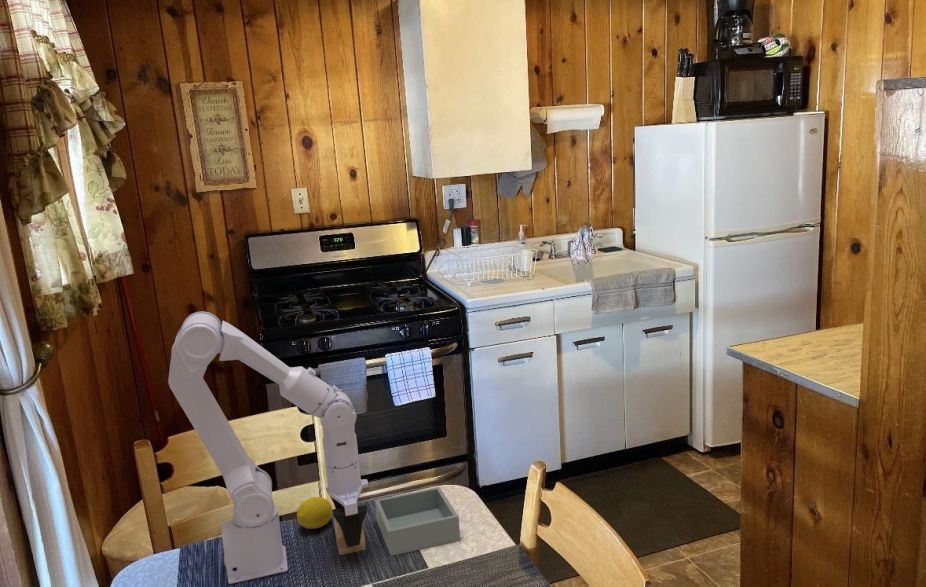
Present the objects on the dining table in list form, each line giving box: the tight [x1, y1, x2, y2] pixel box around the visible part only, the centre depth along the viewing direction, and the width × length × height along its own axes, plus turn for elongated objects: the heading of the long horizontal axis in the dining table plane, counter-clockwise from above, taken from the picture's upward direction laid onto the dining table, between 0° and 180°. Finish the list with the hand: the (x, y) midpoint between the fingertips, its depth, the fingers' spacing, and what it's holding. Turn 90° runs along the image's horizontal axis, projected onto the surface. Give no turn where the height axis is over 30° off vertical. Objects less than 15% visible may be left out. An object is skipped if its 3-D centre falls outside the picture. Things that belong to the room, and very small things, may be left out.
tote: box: [374, 486, 461, 557], centre depth 127 cm, size 12×12×4 cm
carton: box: [332, 505, 367, 556], centre depth 123 cm, size 4×4×6 cm
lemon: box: [296, 496, 333, 530], centre depth 131 cm, size 6×6×8 cm
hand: (350, 534), depth 124 cm, fingers open, 7 cm apart
